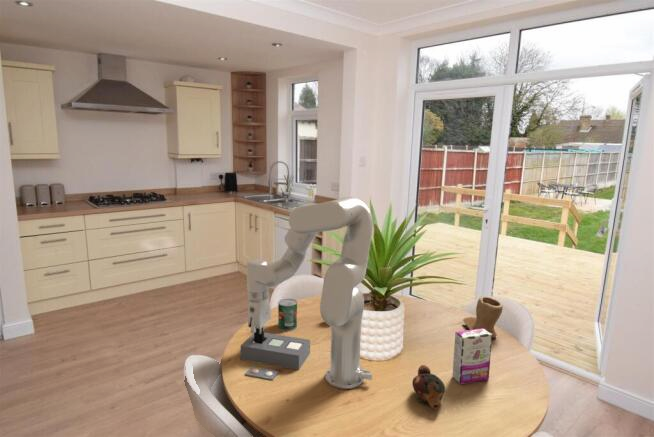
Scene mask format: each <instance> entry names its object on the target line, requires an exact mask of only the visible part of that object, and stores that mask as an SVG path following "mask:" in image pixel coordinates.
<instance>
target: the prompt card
mask: <svg viewBox="0 0 654 437" xmlns="http://www.w3.org/2000/svg"><path fill="white" fill-rule="evenodd" d="M279 373H280V372H279V370H275V369H274V370H273V369H268V368H263V367H257V366H250V367H249V369H248V370H247V371H246V372H245V373H244V376H247V377H253V378H259V379H263V380H268V381H273V380H274V379H275V378H276V376H278V374H279Z"/></svg>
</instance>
